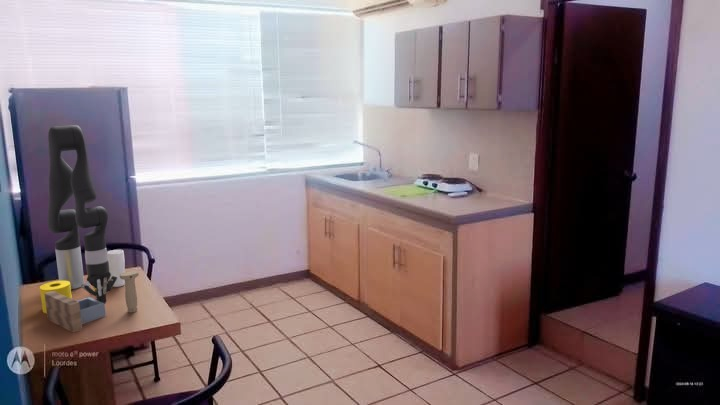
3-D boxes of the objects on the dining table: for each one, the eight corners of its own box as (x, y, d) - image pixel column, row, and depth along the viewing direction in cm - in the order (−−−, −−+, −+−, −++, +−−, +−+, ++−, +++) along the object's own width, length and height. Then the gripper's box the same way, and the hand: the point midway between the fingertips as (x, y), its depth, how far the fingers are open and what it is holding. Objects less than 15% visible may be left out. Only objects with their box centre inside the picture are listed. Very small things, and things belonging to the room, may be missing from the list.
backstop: (47, 319, 189) (44, 293, 187) (56, 316, 192) (53, 290, 190) (73, 332, 178) (70, 305, 176) (82, 329, 181) (79, 302, 179)
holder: (60, 319, 190) (59, 306, 189) (90, 309, 198) (89, 296, 197) (75, 326, 184) (74, 313, 183) (105, 316, 192) (104, 303, 191)
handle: (121, 311, 196) (118, 273, 193) (139, 307, 200) (136, 269, 197) (125, 315, 192) (121, 276, 189) (143, 311, 196) (139, 273, 193)
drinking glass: (106, 286, 222) (102, 252, 219) (119, 281, 228) (116, 248, 225) (116, 289, 219) (113, 254, 216) (130, 284, 225) (127, 250, 222)
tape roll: (43, 315, 192) (39, 291, 191) (42, 306, 201) (39, 283, 199) (73, 310, 198) (70, 286, 196) (72, 301, 206) (69, 278, 204)
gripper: (108, 253, 200) (113, 296, 204) (73, 263, 190) (79, 307, 194) (119, 257, 196) (124, 300, 200) (84, 267, 186) (89, 312, 189)
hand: (102, 304), depth 197 cm, fingers closed
